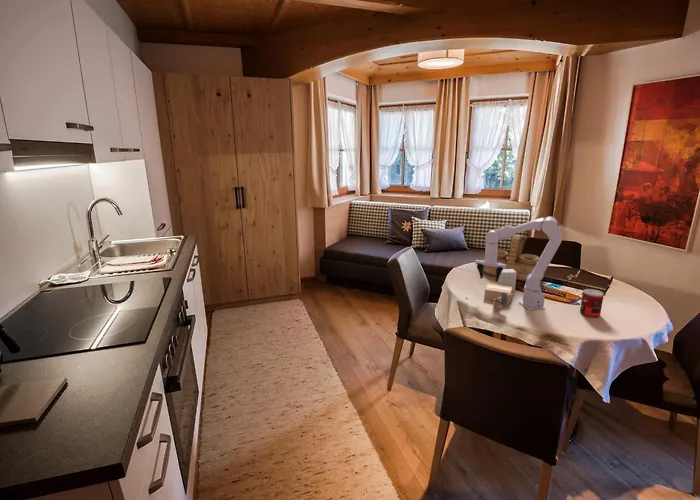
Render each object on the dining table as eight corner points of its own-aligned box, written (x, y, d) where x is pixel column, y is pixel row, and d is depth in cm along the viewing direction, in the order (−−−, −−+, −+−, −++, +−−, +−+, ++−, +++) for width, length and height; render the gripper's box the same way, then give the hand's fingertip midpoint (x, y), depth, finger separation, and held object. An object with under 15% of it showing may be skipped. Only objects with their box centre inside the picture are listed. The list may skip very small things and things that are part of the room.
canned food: (581, 308, 173) (584, 287, 170) (601, 313, 168) (604, 291, 165) (578, 314, 167) (581, 292, 164) (599, 319, 162) (602, 296, 159)
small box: (511, 286, 202) (513, 268, 199) (515, 290, 196) (517, 272, 193) (496, 286, 203) (498, 268, 200) (499, 290, 197) (501, 272, 194)
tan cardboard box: (509, 302, 182) (510, 285, 179) (519, 306, 177) (521, 288, 175) (493, 308, 176) (494, 290, 174) (503, 312, 171) (504, 294, 169)
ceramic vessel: (478, 274, 222) (480, 235, 215) (488, 266, 236) (491, 229, 229) (539, 286, 202) (544, 242, 195) (546, 276, 215) (551, 235, 208)
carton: (511, 295, 190) (512, 286, 188) (509, 302, 182) (510, 293, 181) (487, 292, 196) (488, 283, 194) (484, 298, 188) (484, 289, 187)
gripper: (473, 254, 182) (472, 279, 186) (504, 258, 174) (501, 284, 178) (478, 250, 188) (476, 275, 192) (508, 254, 179) (505, 280, 183)
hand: (489, 279), depth 185 cm, fingers open, 7 cm apart
